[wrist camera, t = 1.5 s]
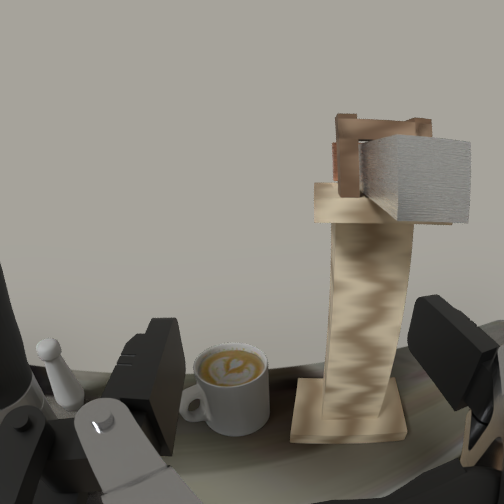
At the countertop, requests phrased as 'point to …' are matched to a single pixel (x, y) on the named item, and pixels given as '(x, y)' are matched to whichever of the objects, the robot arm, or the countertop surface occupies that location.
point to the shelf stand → (359, 302)
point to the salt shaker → (60, 376)
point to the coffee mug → (229, 389)
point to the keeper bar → (416, 177)
